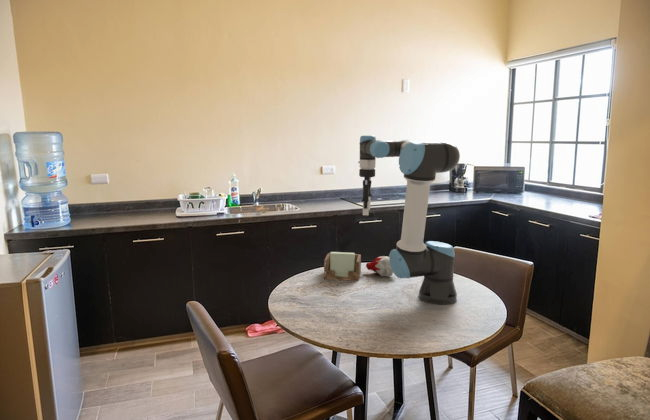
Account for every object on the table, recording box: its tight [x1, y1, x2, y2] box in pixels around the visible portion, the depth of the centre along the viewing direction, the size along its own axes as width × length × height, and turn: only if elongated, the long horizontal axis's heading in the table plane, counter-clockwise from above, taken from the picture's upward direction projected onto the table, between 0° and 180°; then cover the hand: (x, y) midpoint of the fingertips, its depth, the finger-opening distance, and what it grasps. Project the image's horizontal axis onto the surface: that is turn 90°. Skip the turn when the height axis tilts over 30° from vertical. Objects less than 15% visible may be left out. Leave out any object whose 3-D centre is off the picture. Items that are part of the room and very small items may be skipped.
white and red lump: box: [365, 255, 394, 277], centre depth 213 cm, size 9×11×15 cm
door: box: [329, 251, 356, 277], centre depth 207 cm, size 11×2×11 cm, turn 81°
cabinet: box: [323, 252, 362, 282], centre depth 210 cm, size 16×13×9 cm
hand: (366, 212), depth 215 cm, fingers open, 13 cm apart
